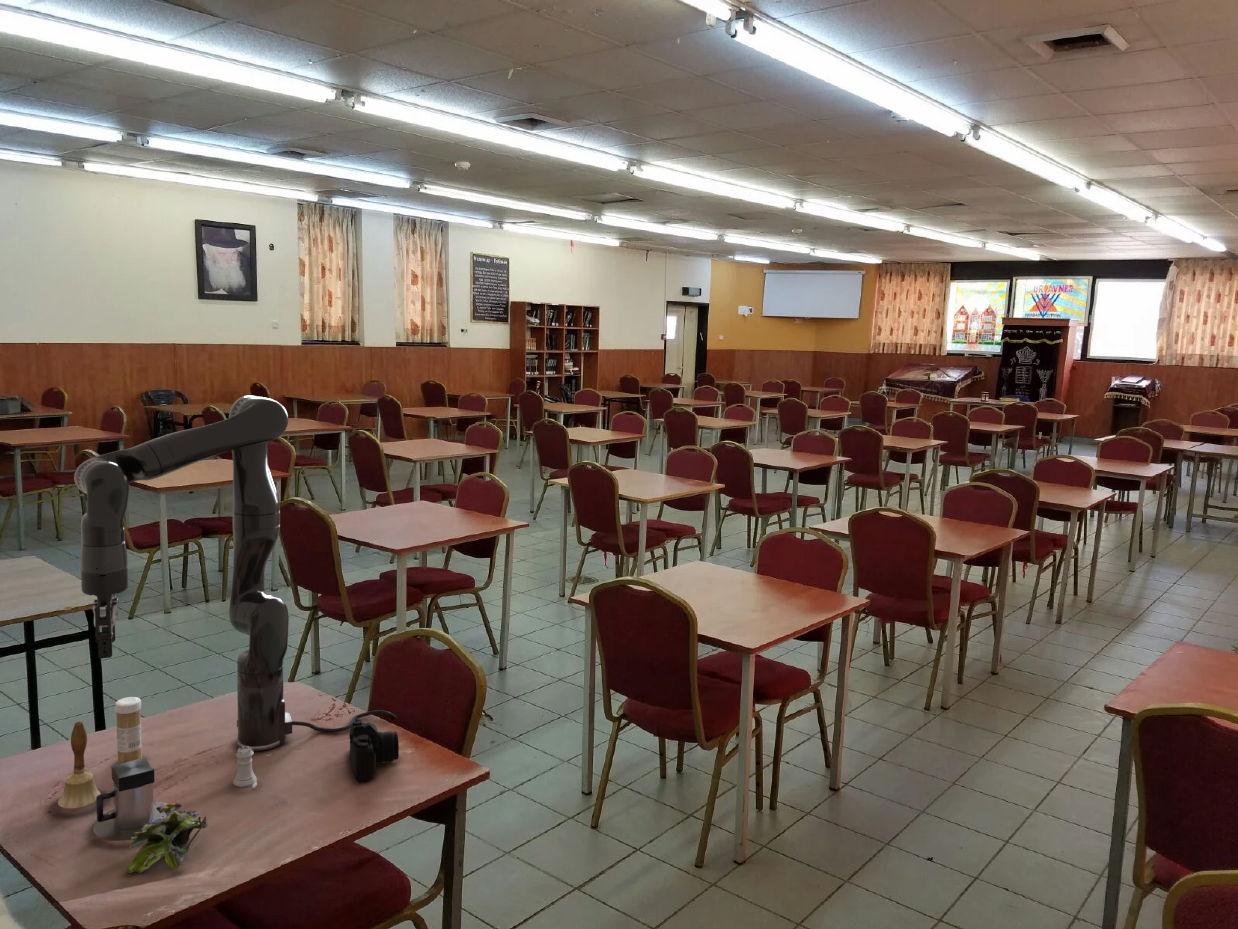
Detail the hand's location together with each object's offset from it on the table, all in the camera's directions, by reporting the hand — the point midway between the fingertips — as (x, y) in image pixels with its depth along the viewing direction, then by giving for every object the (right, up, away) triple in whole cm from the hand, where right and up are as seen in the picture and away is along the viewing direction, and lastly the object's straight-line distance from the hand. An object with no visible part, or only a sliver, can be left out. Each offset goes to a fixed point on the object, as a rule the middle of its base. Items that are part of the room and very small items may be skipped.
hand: (107, 649), depth 166 cm
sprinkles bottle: (-4, -26, +14) cm, 30 cm away
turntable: (+10, -30, -8) cm, 33 cm away
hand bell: (-4, -29, -2) cm, 29 cm away
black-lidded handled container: (+9, -29, -9) cm, 32 cm away
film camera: (+45, -28, +19) cm, 56 cm away
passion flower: (+21, -32, -18) cm, 43 cm away
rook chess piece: (+23, -29, +7) cm, 38 cm away
